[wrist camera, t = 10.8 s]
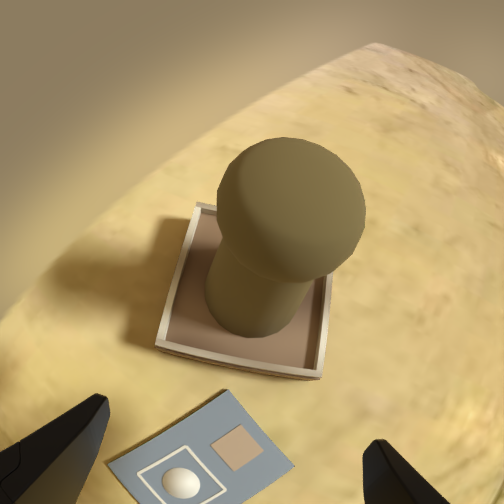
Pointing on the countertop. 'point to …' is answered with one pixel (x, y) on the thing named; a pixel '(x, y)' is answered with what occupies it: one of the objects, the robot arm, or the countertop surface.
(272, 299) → the olive pawn figure
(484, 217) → the countertop surface
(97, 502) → the countertop surface
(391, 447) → the robot arm
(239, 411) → the blueprint card
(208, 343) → the brown square tray
